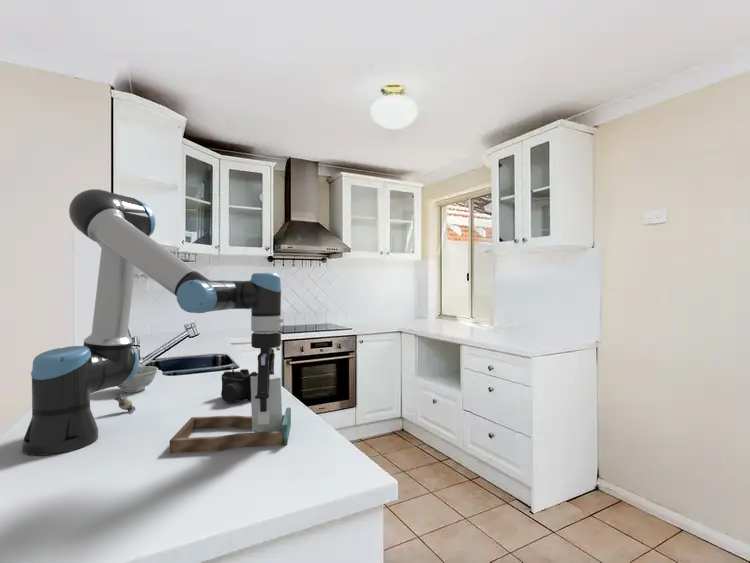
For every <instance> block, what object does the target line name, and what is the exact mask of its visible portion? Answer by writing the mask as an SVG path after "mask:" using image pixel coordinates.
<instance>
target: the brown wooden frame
mask: <svg viewBox="0 0 750 563" xmlns="http://www.w3.org/2000/svg"><path fill="white" fill-rule="evenodd" d="M291 409H292V407H286V408H285V413H284V414H282V431H276V432H256V433H254V432H239V433H232V434H226V435H221V436H202V437H201V436H200V437H199V436H197V437H190V436H191V435H192V433H194V431H195V430H210V429H211V430H212V429H231V428H232V429H243V430H245V429H246V430H247V429H248V430H250V429H251V430H252V415H251V416H245V415H244V416H243V415H215V416H212V415H211V416H194V417H193V416H192V417H190V418H189V420H187V422H185V424H183V425H182V427H181V428H179V430H178V431H177V432H176V433H175V434H174V435H173V437H171V438H170V440H169V454H185V453H187V454H188V453H201V452H203V453H204V452H205V453H206V452H218V451H219V452H220V451H225V450H230V449H236V448H248V447H249V448H252V447H253V448H254V447H269V446H270V447H271V446H272V447H273V446H287V445H288V443H289V436H290V431H291V427H292V426H291V425H292V410H291Z"/></svg>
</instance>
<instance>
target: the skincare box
mask: <svg viewBox="0 0 750 563" xmlns="http://www.w3.org/2000/svg"><path fill="white" fill-rule="evenodd" d="M281 379H282V378H281V377H280V376H277V375H275V374H274V375H273V374H270V380H269V397H270V423H269V424H258V399H255V396H257V384H258V375H256V376H251V400H250V401H251V416H252V429H251V431H252V433H256V432H276V431H282V415H283V407H282V406H283V405H282V380H281ZM261 393H265V392H261Z"/></svg>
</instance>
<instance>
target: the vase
mask: <svg viewBox="0 0 750 563" xmlns="http://www.w3.org/2000/svg"><path fill="white" fill-rule="evenodd" d="M113 400H114V401H117V403H118V407H119V408H120V410H124V411H127V412H128V413H127V414H128V415H132V414H133V413H134V411H136V406H134V405H133V402H132V400H131V399H130V398H129V397H123V396H122V394H121V393H119V394H116V396H115V397H114V398H113ZM127 414H125V415H127Z"/></svg>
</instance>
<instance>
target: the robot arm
mask: <svg viewBox="0 0 750 563" xmlns="http://www.w3.org/2000/svg"><path fill="white" fill-rule="evenodd" d="M68 208H69V209H68V214H69V218H70V221H71V223H72V224H73V226H74V227H75V228H76V229H77V230H78V231H79V232H81V233H82V234H83V235H84V236H86V237H87V238H88V239H90V240H91V241H92V242H95V243H97V245H98V246H99V247H100V248H101V250H100V258H99V259H100V260H99V266H98V276H97V284H96V292H95V301H94V310H93V319H92V327H91V333H90V335H88V336H87V337H85V338H84V340H83V345H72V346H65V347H58V348H54V349H49V350H46V351H44V352H40V353H39V354H37V355H36V356H35V357H34V359H33V361H32V370H31V372H30V375H31V376H30V377H31V418H30V422H29V423H28V427H27V430H26V431H25V435H24V437H23V440H22V452H23V454H25V453H27V454H26V455H29V454H34V455H33V456H47V455H46V454H49V455H55V454H56V453H57V454H62V453H65V452H66V453H67V452H70V451H74V450H78V449H81V448H84V447H86V446H89V445H90V444H93V443H95V442H96V441H97V440H98V439H99V428H98V425H97V422H96V419H95V417H94V415H93V412H92V410H91V394H93V393H96V392H99V391H100V392H101V391H103V390H106V389H110V388H115V387H117V386H118V385H120V384H122V383H124V382H126V381H128V380H129V379H131V378H132V377H133V376H134V374H135V373H136V371H137V369H138V366H139V365H140V356H139V353H138V352H137V349H136V348H135V347H134V346H133V339H132V338H130V336H129V335H128V332H129V322H130V315H131V306H132V305H131V304H132V296H133V288H134V281H135V280H134V279H135V271H136V268H137V269H138V270H140V271H141V272H143V273H144V274H145V275H147V277H149V278H151V279H152V280H153V281H155V282H156V283H157V284H159V285H160V286H161V287H163V288H164V289H166V290H168V292H170V293H172V295H174V296H175V297H176V301H177V303H178V306H179V307H180V308H181V309H182V310H183V311H185V312H186V313H190V314H193V313H194V314H204V313H208V312H217V311H225V310H226V311H227V310H250V312H251V316H250V318H251V319H250V323H251V324H250V331H251V332H252V333H251V334H250V335H251V339H250V340H251V347H252V348H253V349H260V351H259V352H260V353H259V354H258V355H257V373H258V384H257V396H255V399H258V424H269V423H270V397H269V380H270V374H273V375H275V356H276V355H275V349H276V348H279V347H281V344H282V333H281V332H279V331H280V330H281V329H282V328H281V327H282V326H281V325H282V324H283V323H284V319H283V318H282V317H281V314H282V312H281V311H282V310H281V307H282V286H281V285H282V282H281V276H280V275H279V274H278V273H274V272H271V273H270V272H257V273H252V274H251V277H250V280H226V279H225V280H224V279H223V280H221V279H220V280H211V279H209V278H207V277H206V276H204V275H203V274H201V273H200V272H199V271H198V270H196V269H194V268H193V267H192V266H191V265H189V264H188V263H187V262H185V261H184V260H182V259H181V258H180V257H178V256H176V254H174V253H172V252H171V251H169V250H168V249H167V248H165V247H164V246H163V245H161V244H160V243H158V242H157V241H155V239H152V237H151V235H152V234H153V233H154V231H155V228H156V217H155V215H154V214H155V213H154V212H153V210H152V209H151V208H150V206H149V205H148V204H146V203H145V202H143V201H140V200H138V199H136V198H135V197H130V196H125V195H122V194H118V193H114V192H111V191H107V190H103V189H95V188H93V189H92V188H91V189H86V190H84V191H82V192H79V193H78V194H76V196H75V197H73V198H72V200H71V201H70V203H69V207H68ZM261 392H265V393H261ZM44 454H45V455H44Z"/></svg>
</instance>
